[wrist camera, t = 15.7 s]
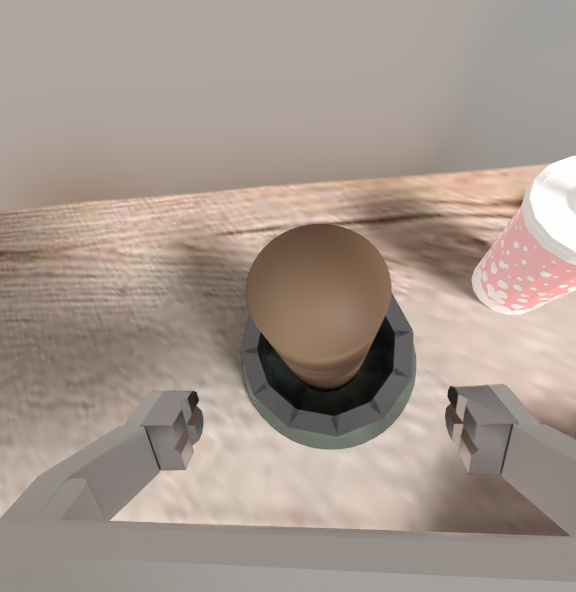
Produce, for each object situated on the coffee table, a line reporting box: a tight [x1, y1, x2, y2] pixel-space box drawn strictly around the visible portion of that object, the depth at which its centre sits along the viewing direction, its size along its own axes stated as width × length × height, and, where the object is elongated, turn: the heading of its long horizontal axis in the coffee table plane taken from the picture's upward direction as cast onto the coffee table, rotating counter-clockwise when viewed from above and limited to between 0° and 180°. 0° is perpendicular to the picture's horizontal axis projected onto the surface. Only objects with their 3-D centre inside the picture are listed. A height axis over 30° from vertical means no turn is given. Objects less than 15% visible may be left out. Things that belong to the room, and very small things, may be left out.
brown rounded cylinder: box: [246, 224, 391, 392], centre depth 16 cm, size 5×5×12 cm
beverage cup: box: [471, 156, 576, 315], centre depth 16 cm, size 6×6×14 cm
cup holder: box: [240, 293, 416, 449], centre depth 20 cm, size 12×12×4 cm
